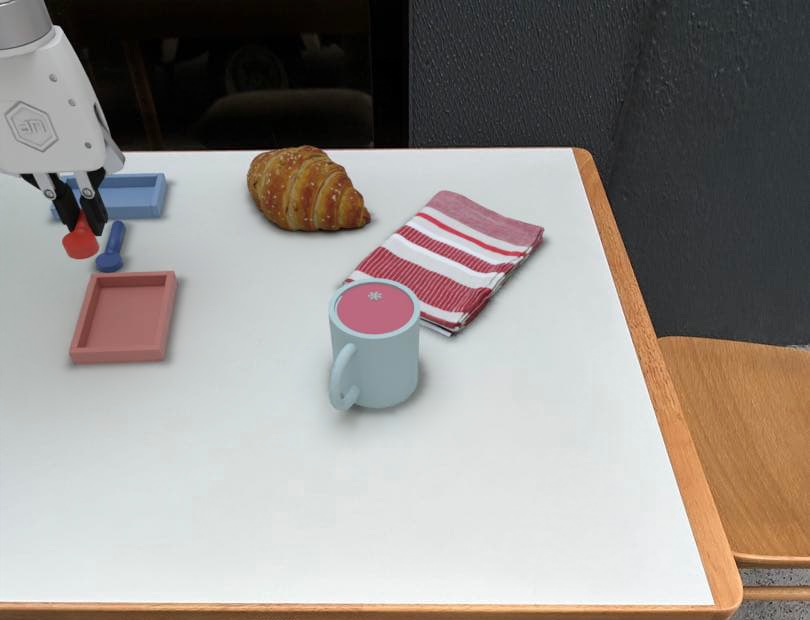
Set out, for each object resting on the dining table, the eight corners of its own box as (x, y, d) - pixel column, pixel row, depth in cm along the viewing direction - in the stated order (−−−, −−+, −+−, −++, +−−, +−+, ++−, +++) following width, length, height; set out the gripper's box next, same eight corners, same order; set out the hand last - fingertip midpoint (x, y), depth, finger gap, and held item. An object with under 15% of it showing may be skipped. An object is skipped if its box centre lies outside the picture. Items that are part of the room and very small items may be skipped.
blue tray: (56, 223, 90) (49, 208, 88) (68, 189, 94) (62, 175, 93) (160, 220, 91) (156, 205, 89) (168, 187, 95) (163, 172, 93)
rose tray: (164, 363, 76) (159, 349, 74) (75, 367, 76) (68, 352, 74) (178, 285, 84) (174, 270, 82) (97, 287, 83) (91, 273, 81)
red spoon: (83, 203, 71) (77, 188, 70) (113, 202, 72) (107, 187, 70) (63, 260, 66) (56, 245, 65) (96, 259, 66) (90, 244, 65)
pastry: (387, 212, 92) (386, 153, 85) (327, 258, 87) (321, 199, 80) (277, 163, 99) (268, 104, 92) (214, 203, 93) (200, 144, 86)
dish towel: (545, 242, 89) (549, 224, 87) (455, 343, 78) (456, 324, 76) (438, 201, 94) (439, 183, 91) (339, 290, 83) (338, 272, 81)
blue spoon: (109, 229, 90) (105, 218, 88) (133, 228, 90) (129, 217, 88) (96, 275, 84) (91, 264, 83) (122, 274, 84) (117, 263, 83)
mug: (361, 342, 78) (356, 268, 70) (431, 368, 76) (435, 295, 68) (298, 419, 72) (285, 348, 63) (373, 450, 70) (370, 380, 61)
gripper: (-118, 39, 51) (3, 254, 67) (88, 35, 52) (161, 248, 67) (-86, -1, 55) (21, 210, 71) (105, -5, 56) (170, 205, 71)
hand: (89, 228), depth 69 cm, fingers closed on red spoon, 1 cm apart
